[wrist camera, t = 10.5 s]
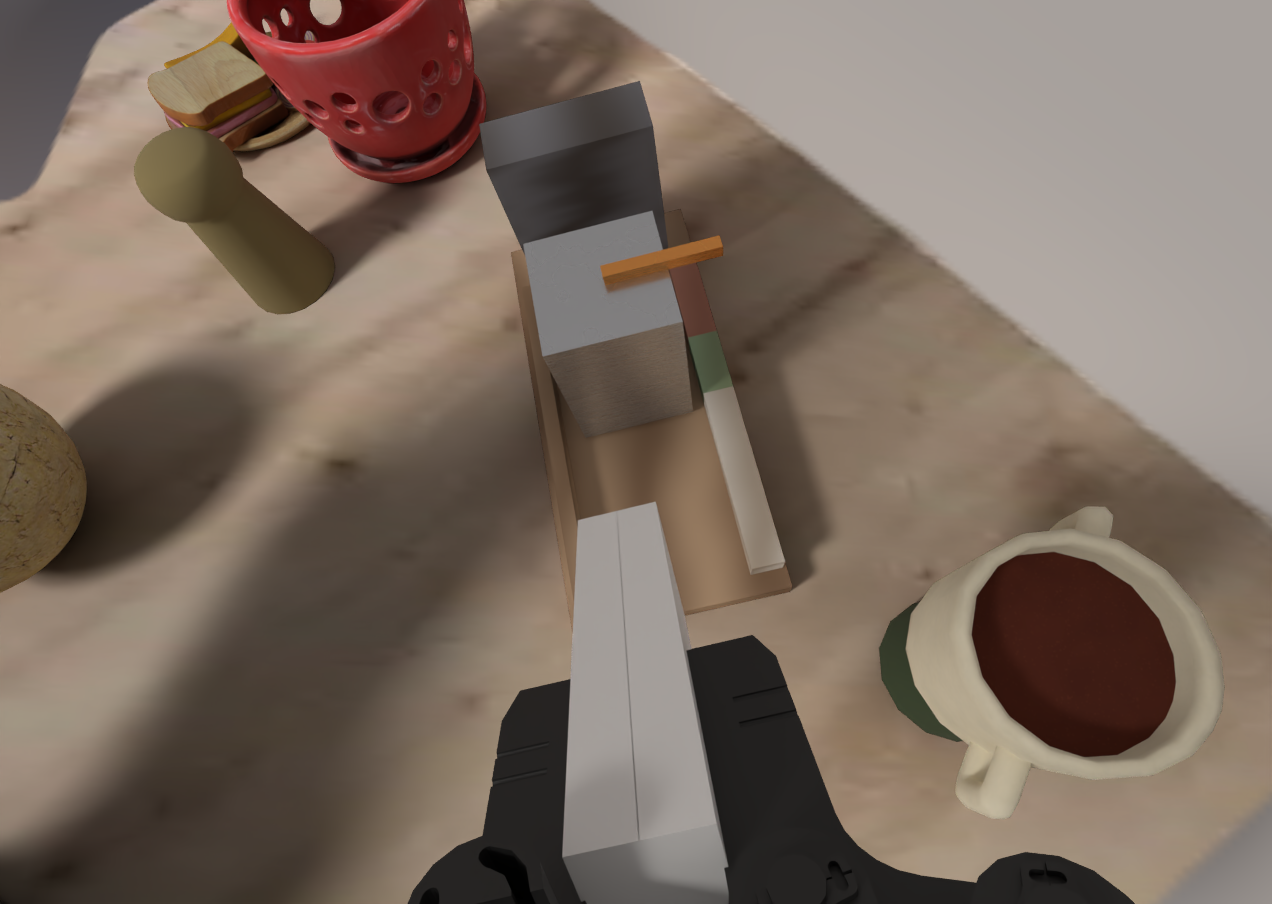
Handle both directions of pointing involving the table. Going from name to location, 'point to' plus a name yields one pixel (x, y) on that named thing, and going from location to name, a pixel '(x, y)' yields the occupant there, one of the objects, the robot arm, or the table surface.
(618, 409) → the grey cube with stick
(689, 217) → the table surface
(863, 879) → the robot arm
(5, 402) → the fossilized egg
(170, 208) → the olive knobbed pawn
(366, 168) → the plant pot
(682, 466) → the brown grey l-shaped piece
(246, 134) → the toy sandwich meal
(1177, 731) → the character mug
